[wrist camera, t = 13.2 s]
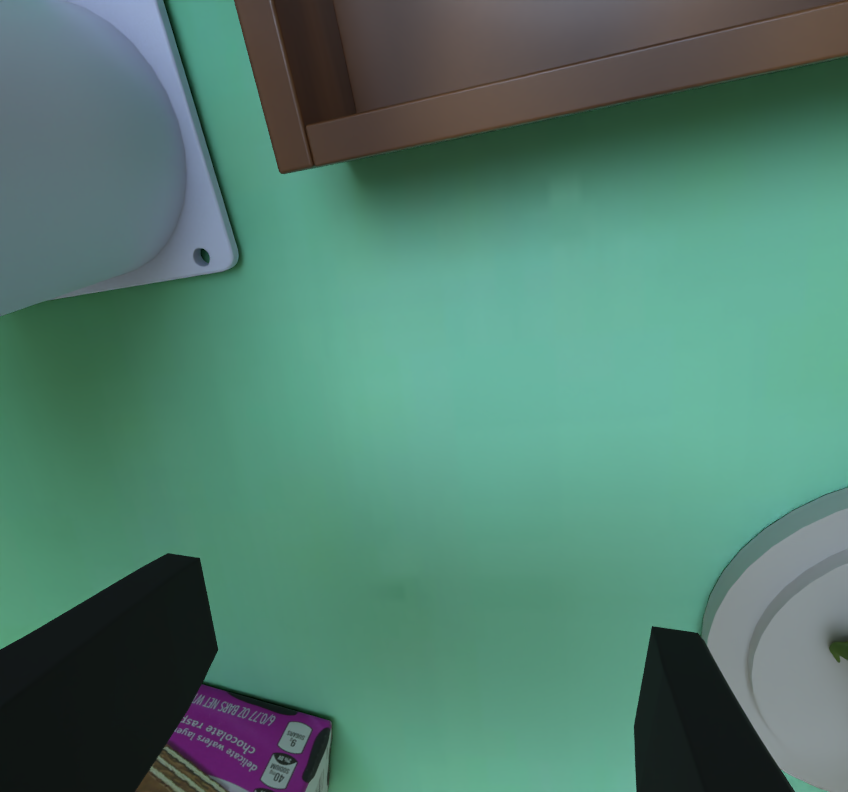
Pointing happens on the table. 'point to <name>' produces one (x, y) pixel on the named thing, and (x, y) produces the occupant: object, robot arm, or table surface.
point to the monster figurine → (790, 639)
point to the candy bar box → (242, 748)
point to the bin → (501, 62)
